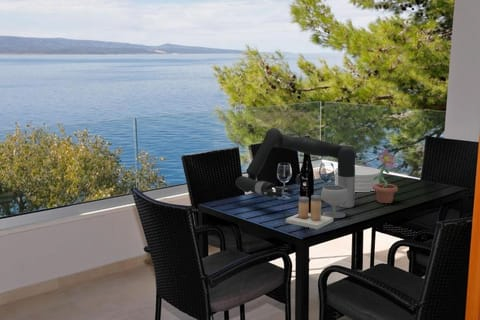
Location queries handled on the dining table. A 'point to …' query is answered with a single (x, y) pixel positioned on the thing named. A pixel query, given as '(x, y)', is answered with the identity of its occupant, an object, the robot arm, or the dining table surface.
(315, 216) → the white board with post
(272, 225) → the dining table surface
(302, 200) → the grey-capped tan peg
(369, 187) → the plate stack
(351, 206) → the robot arm
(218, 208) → the dining table surface
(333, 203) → the chalice
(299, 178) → the pneumatic valve
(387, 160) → the decorative flower
